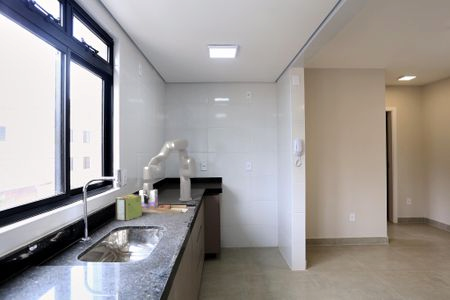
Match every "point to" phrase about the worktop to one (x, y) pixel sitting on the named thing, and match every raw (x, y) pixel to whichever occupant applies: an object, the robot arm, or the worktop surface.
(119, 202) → the protein box
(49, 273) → the worktop surface
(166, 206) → the frame
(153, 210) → the rail lane
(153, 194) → the candy box
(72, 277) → the worktop surface
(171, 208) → the pad
